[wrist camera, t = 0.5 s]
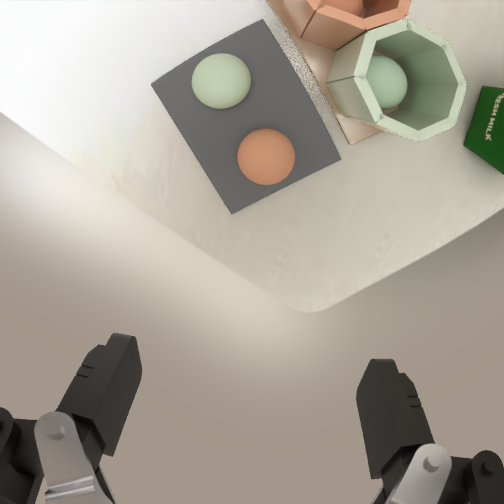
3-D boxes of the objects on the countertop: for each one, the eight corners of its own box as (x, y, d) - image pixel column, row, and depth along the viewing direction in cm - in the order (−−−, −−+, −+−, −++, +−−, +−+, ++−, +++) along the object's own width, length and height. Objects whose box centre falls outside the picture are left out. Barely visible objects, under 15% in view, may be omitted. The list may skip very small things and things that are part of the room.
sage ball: (380, 51, 22) (400, 44, 18) (403, 97, 23) (425, 98, 19) (336, 69, 23) (349, 64, 19) (360, 115, 25) (377, 119, 21)
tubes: (342, -40, 18) (371, -87, 10) (425, 110, 24) (485, 121, 16) (260, -9, 20) (255, -55, 12) (349, 144, 26) (385, 167, 18)
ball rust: (277, 117, 25) (278, 120, 21) (302, 162, 27) (308, 174, 23) (230, 142, 26) (223, 150, 22) (256, 186, 28) (253, 202, 24)
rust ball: (337, -20, 19) (349, -38, 15) (364, 22, 21) (381, 10, 17) (292, -3, 20) (296, -21, 16) (319, 39, 22) (329, 28, 18)
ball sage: (235, 47, 23) (228, 38, 19) (262, 91, 24) (261, 89, 20) (188, 74, 24) (174, 70, 20) (215, 117, 25) (205, 121, 21)
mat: (262, 20, 22) (262, 19, 21) (340, 157, 27) (341, 159, 26) (153, 84, 25) (150, 84, 24) (232, 212, 30) (231, 214, 29)
